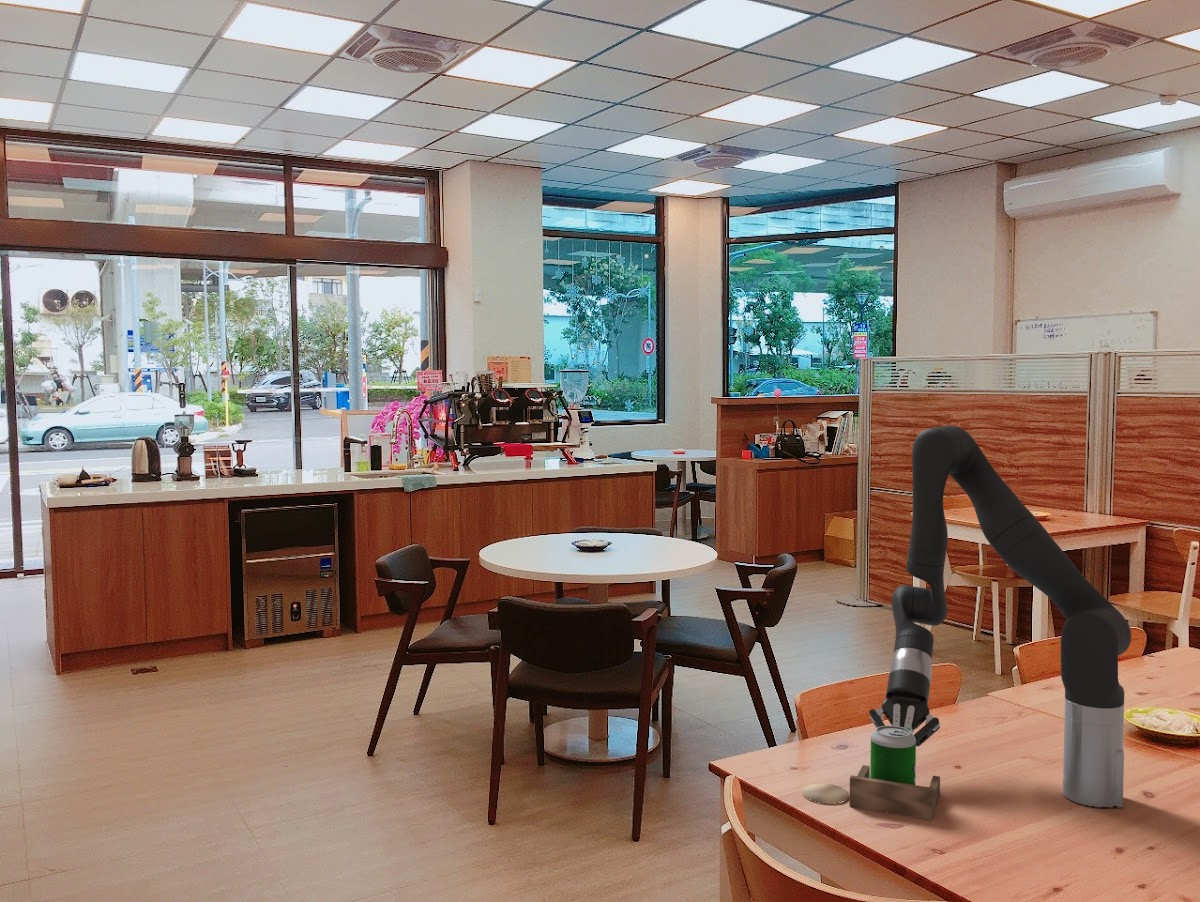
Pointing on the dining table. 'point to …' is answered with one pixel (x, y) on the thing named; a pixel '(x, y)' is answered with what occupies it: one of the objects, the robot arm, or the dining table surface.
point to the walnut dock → (894, 795)
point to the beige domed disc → (825, 793)
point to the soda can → (893, 755)
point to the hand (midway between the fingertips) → (898, 763)
